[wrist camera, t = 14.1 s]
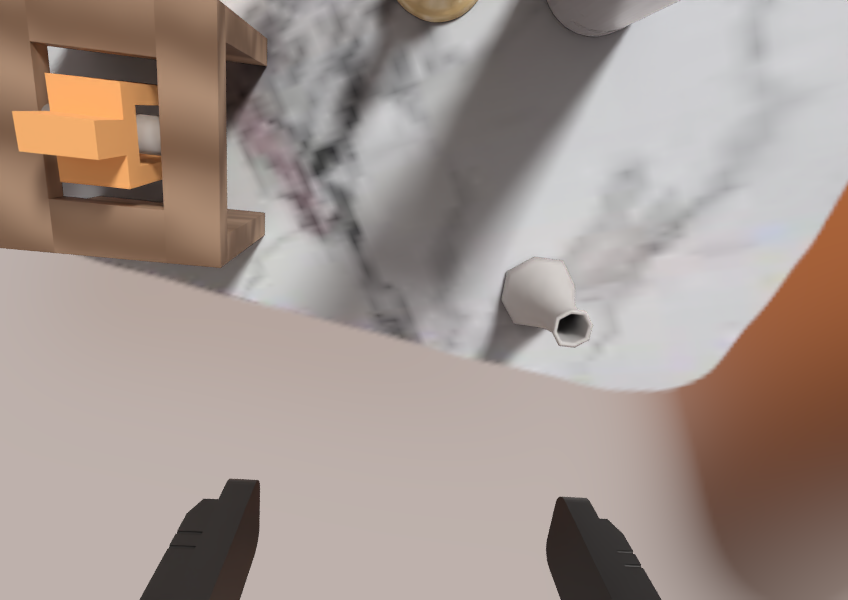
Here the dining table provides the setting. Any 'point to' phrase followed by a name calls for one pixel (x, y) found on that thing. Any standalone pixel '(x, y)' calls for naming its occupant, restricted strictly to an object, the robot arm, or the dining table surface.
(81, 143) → the stepped orange block
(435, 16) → the hand bell
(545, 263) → the flask
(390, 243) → the dining table surface
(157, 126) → the brown square frame
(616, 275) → the dining table surface
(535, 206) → the dining table surface
